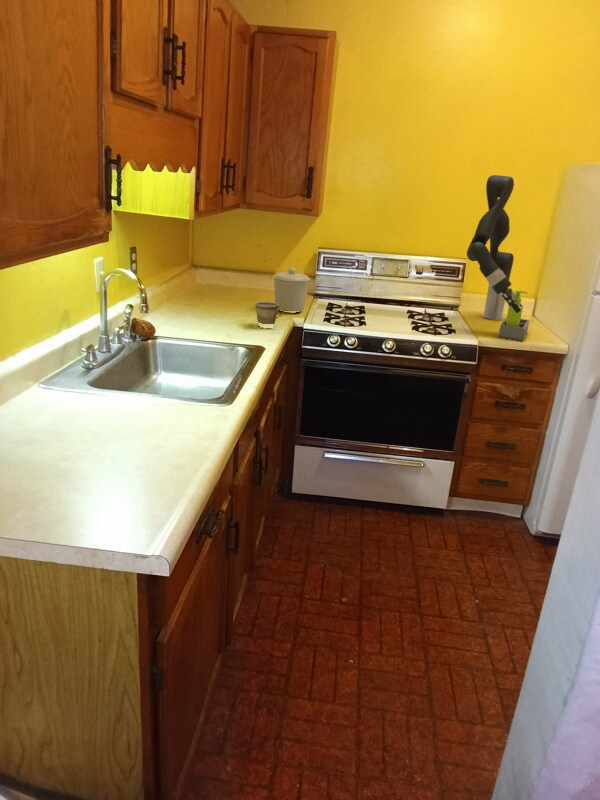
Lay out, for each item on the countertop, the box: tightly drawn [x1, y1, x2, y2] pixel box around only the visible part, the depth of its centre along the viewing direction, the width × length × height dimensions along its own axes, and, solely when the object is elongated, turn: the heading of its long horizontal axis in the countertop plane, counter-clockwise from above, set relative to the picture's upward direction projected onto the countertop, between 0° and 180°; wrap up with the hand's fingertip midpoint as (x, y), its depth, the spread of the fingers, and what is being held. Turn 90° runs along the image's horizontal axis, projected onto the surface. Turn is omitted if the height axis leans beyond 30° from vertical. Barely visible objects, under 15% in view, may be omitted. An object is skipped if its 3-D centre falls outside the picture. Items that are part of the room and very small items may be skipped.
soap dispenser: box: [506, 290, 529, 327], centre depth 276 cm, size 6×7×20 cm
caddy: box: [497, 316, 530, 343], centre depth 283 cm, size 21×10×6 cm, turn 155°
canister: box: [272, 267, 312, 312], centre depth 296 cm, size 18×18×21 cm
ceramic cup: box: [255, 301, 285, 324], centre depth 265 cm, size 13×10×10 cm
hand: (520, 310), depth 275 cm, fingers open, 8 cm apart
